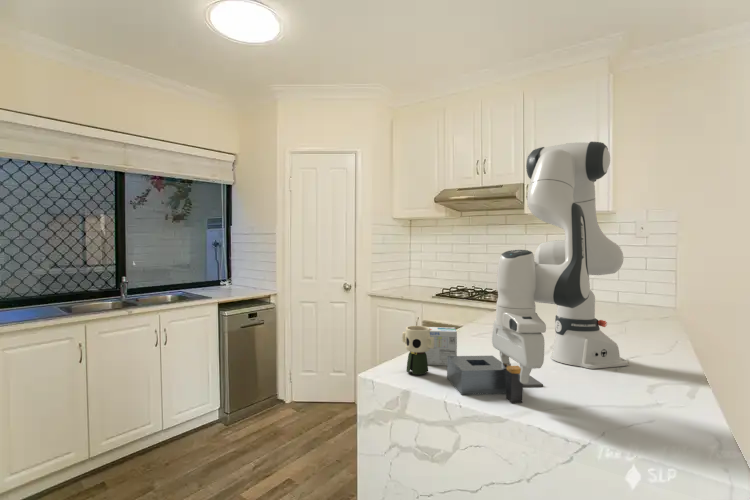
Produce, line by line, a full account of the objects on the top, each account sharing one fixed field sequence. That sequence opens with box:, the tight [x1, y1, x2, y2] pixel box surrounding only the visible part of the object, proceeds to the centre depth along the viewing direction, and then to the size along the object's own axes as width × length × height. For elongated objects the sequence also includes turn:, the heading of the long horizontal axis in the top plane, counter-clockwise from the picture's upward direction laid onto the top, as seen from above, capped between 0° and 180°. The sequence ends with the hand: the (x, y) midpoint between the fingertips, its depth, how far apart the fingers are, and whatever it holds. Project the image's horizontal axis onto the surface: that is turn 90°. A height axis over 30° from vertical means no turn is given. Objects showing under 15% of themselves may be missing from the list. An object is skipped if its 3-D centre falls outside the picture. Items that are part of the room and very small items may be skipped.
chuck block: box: [446, 355, 507, 396], centre depth 111 cm, size 13×18×6 cm
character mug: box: [401, 325, 434, 375], centre depth 118 cm, size 11×7×13 cm, turn 49°
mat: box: [523, 374, 544, 388], centre depth 112 cm, size 8×8×1 cm
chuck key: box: [505, 365, 524, 404], centre depth 98 cm, size 3×3×8 cm
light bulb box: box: [425, 326, 458, 366], centre depth 129 cm, size 11×7×11 cm, turn 84°
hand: (514, 376), depth 97 cm, fingers open, 7 cm apart
